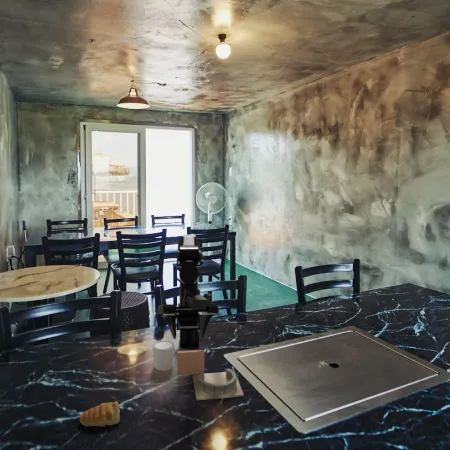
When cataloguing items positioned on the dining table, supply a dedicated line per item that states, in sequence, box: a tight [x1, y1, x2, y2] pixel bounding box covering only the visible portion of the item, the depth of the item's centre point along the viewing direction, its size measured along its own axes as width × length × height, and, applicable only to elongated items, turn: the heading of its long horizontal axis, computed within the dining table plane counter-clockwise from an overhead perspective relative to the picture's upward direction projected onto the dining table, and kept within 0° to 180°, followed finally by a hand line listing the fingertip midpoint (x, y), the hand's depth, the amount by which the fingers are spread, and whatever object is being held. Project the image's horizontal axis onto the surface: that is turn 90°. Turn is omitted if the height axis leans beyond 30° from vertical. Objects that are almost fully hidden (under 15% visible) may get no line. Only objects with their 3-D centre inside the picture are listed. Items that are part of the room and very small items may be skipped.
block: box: [176, 349, 205, 376], centre depth 114 cm, size 8×1×7 cm, turn 100°
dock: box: [191, 368, 245, 401], centre depth 109 cm, size 13×13×3 cm
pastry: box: [79, 400, 121, 427], centre depth 93 cm, size 9×7×4 cm
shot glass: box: [152, 340, 175, 371], centre depth 120 cm, size 7×7×7 cm
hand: (188, 338), depth 116 cm, fingers open, 9 cm apart
